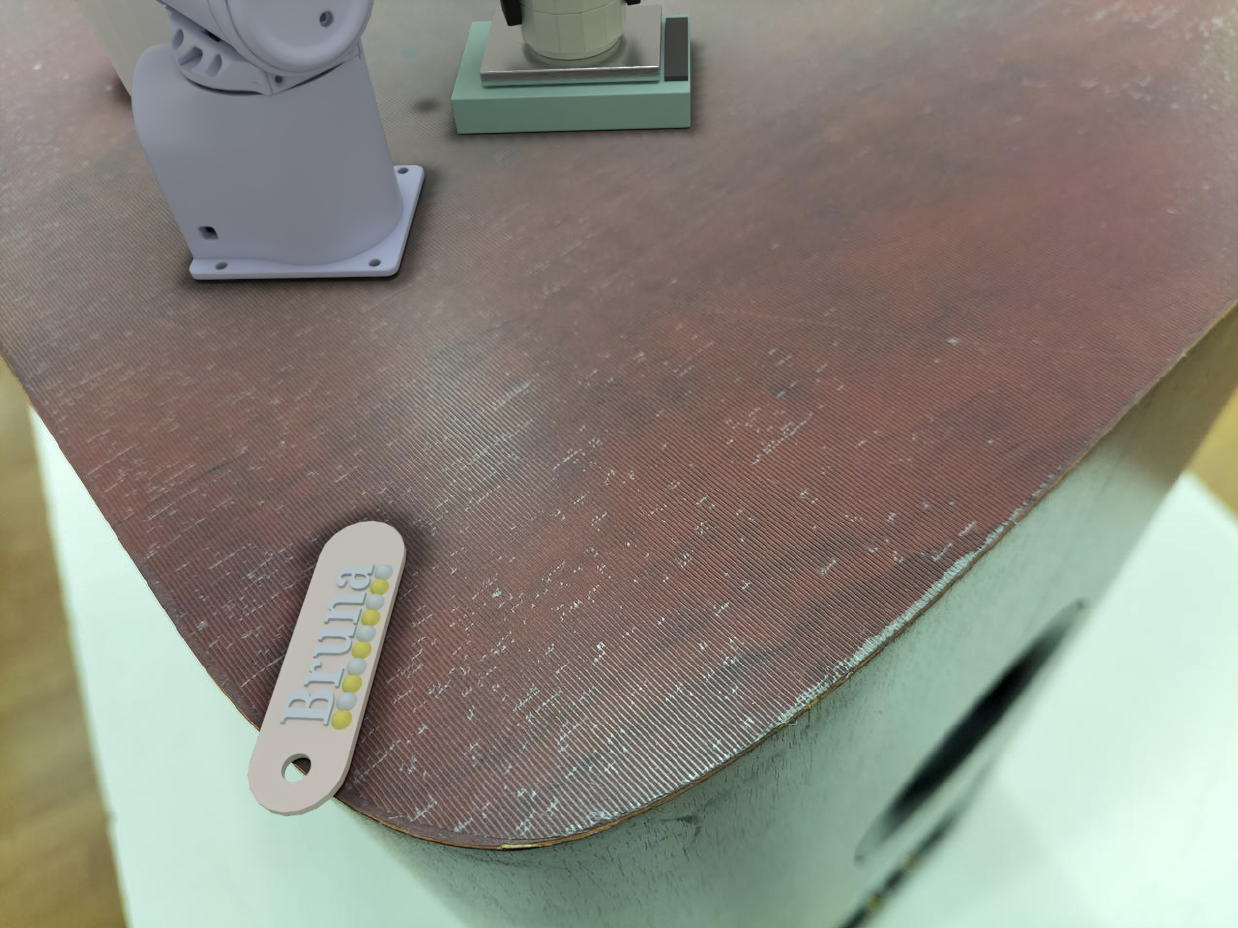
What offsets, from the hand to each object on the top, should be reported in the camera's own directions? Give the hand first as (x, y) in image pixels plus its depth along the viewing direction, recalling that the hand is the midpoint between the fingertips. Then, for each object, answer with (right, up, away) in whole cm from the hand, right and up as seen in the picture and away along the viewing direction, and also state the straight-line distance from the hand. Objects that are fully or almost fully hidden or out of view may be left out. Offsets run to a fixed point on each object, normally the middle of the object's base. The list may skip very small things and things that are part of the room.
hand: (570, 6), depth 51 cm
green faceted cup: (0, -1, +1) cm, 2 cm away
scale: (0, -3, +3) cm, 4 cm away
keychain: (-5, -29, -19) cm, 35 cm away
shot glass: (-23, -1, +7) cm, 24 cm away
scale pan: (0, -2, +2) cm, 2 cm away
